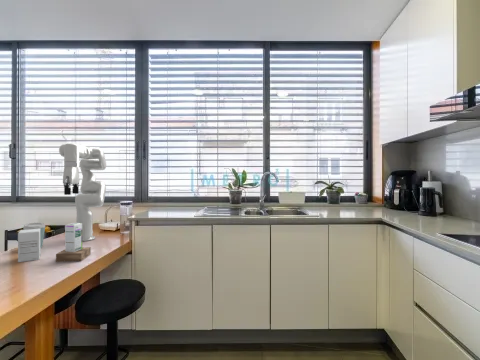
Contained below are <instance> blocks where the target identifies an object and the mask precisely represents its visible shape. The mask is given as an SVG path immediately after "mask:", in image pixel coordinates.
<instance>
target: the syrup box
mask: <svg viewBox="0 0 480 360" xmlns="http://www.w3.org/2000/svg"><path fill="white" fill-rule="evenodd" d="M64 230H65V231H64V242H65V243H64V245H65V246H64V247H65V248H64V249H65V251H66V252H76V251H79V250H82V247H83V241H82V223H77V222H71V223H68V224H65V225H64Z"/></svg>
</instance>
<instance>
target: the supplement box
mask: <svg viewBox="0 0 480 360" xmlns="http://www.w3.org/2000/svg"><path fill="white" fill-rule="evenodd" d="M40 257H41V248H40V229H30V230H24V229H20V230H19V231H18V232H17V263H22V262H23V263H24V262H31V261H38V260H40Z"/></svg>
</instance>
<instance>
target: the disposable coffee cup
mask: <svg viewBox="0 0 480 360" xmlns="http://www.w3.org/2000/svg"><path fill="white" fill-rule="evenodd" d="M46 227H47V226H46V224H45V223H43V222H29V223H26V224H24V225H23V227H22V228H23V229H22V230H30V229H40V249H42V247H43V244H44V239H45V230H46Z"/></svg>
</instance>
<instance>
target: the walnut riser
mask: <svg viewBox="0 0 480 360" xmlns="http://www.w3.org/2000/svg"><path fill="white" fill-rule="evenodd" d="M91 251H92V250H91V247H90V246H89V247H88V246H86V247H85V246H82V250H79V251H76V252H66V251H65V248H64V249H62V250H60V251H59V252H57V253H56V254H55V263H62V262H63V263H64V262H82V261H83V260H85V259H86V258H87V257H89V256H90V255H91V253H92V252H91Z"/></svg>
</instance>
